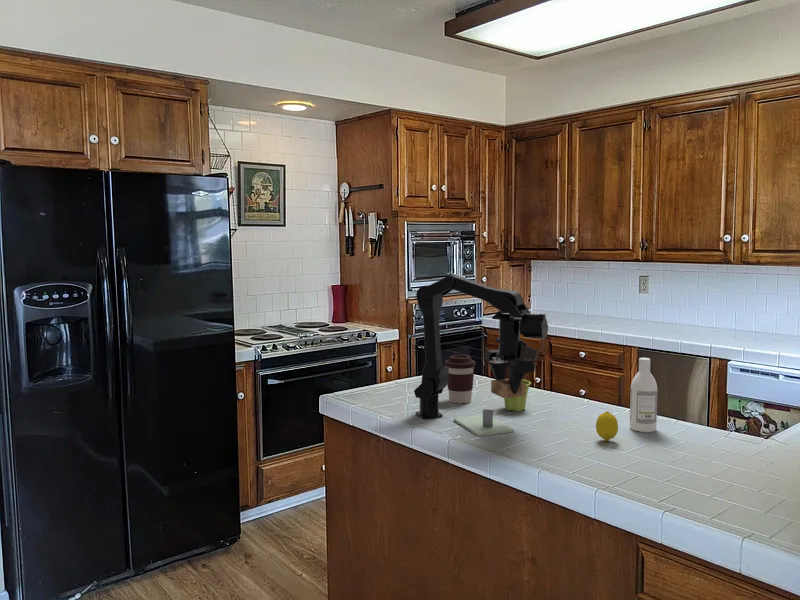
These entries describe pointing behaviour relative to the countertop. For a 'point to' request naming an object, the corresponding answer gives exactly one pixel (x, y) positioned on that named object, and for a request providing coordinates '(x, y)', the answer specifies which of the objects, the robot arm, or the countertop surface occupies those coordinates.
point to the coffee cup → (460, 378)
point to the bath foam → (643, 399)
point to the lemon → (607, 426)
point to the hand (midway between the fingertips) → (508, 390)
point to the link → (506, 388)
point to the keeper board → (478, 425)
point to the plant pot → (517, 400)
